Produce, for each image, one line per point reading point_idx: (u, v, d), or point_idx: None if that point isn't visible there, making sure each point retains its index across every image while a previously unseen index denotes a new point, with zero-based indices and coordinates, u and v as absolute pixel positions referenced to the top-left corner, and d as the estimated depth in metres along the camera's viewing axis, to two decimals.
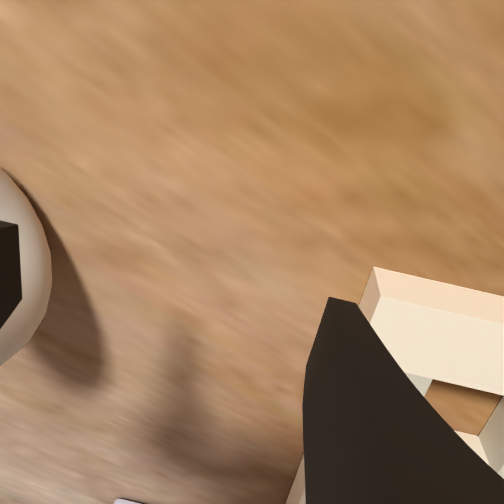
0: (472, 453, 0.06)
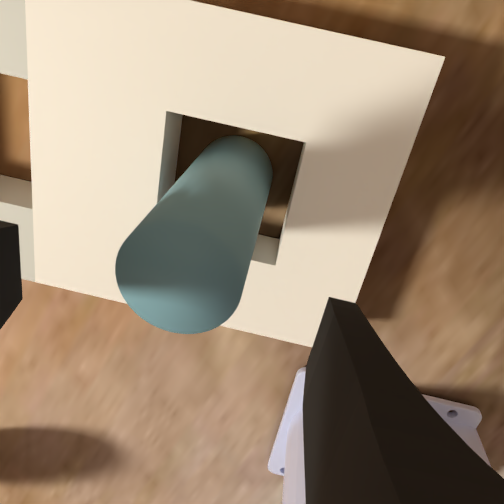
0: (472, 453, 0.06)
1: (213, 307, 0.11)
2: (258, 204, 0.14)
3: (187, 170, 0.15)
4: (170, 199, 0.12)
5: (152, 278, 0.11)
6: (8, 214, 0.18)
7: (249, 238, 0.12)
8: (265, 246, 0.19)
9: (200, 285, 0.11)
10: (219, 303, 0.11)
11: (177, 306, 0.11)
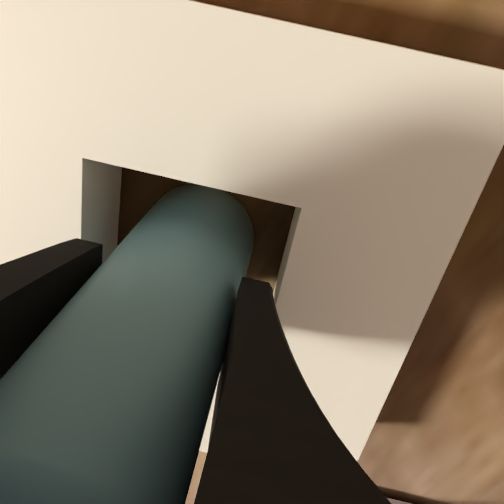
0: (320, 417, 0.06)
1: None
2: (221, 319, 0.09)
3: (109, 257, 0.09)
4: (38, 357, 0.06)
5: None
6: None
7: (193, 419, 0.07)
8: None
9: None
10: None
11: None
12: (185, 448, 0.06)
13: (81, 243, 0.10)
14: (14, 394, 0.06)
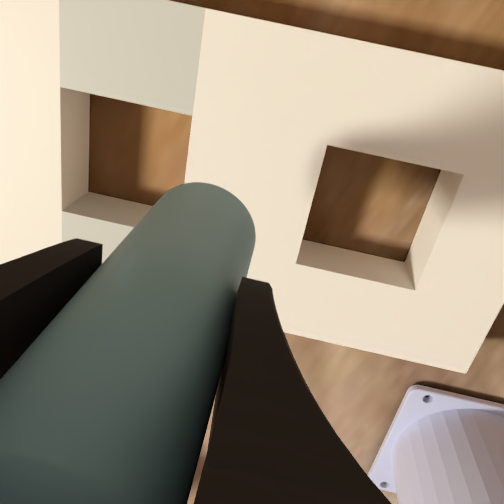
0: (320, 416, 0.06)
1: None
2: (223, 318, 0.09)
3: (111, 255, 0.09)
4: (40, 355, 0.06)
5: None
6: None
7: (195, 418, 0.07)
8: (396, 270, 0.20)
9: None
10: None
11: None
12: (187, 447, 0.06)
13: (81, 243, 0.10)
14: (16, 392, 0.06)
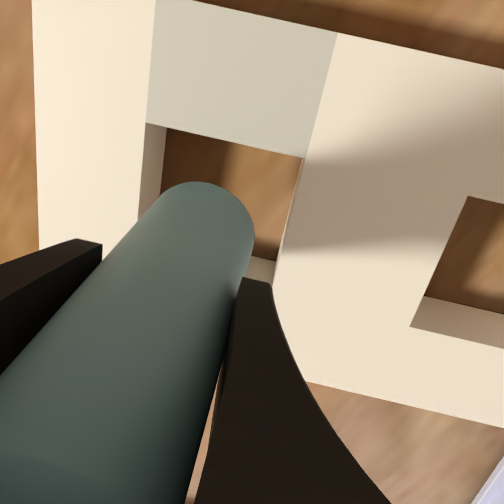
0: (320, 416, 0.06)
1: None
2: (222, 317, 0.09)
3: (109, 255, 0.09)
4: (37, 354, 0.06)
5: None
6: None
7: (193, 417, 0.07)
8: None
9: None
10: None
11: None
12: (185, 446, 0.06)
13: (81, 243, 0.10)
14: (13, 391, 0.06)
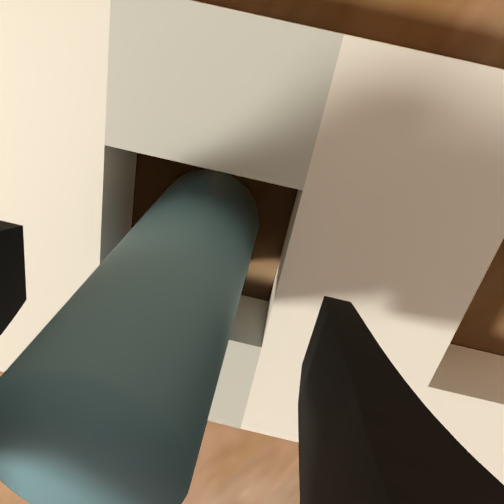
0: (464, 451, 0.06)
1: (144, 497, 0.07)
2: (232, 285, 0.10)
3: (131, 231, 0.10)
4: (79, 305, 0.07)
5: (38, 452, 0.07)
6: None
7: (211, 362, 0.08)
8: None
9: (119, 466, 0.06)
10: (153, 492, 0.07)
11: (85, 492, 0.07)
12: (205, 384, 0.07)
13: None
14: (63, 331, 0.07)
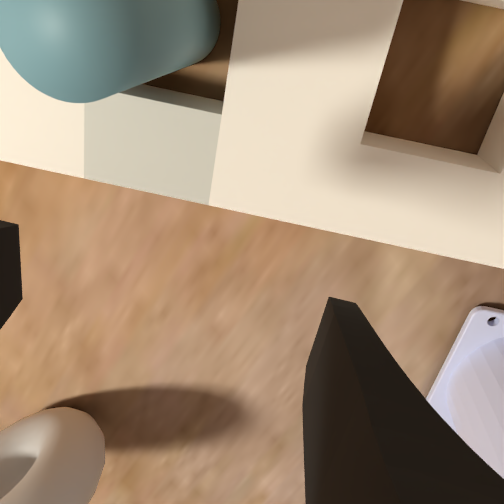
0: (472, 453, 0.06)
1: (110, 59, 0.09)
2: None
3: None
4: None
5: (33, 19, 0.09)
6: (191, 121, 0.16)
7: None
8: (471, 159, 0.17)
9: (91, 25, 0.09)
10: (116, 52, 0.09)
11: (68, 61, 0.09)
12: (155, 0, 0.10)
13: None
14: None
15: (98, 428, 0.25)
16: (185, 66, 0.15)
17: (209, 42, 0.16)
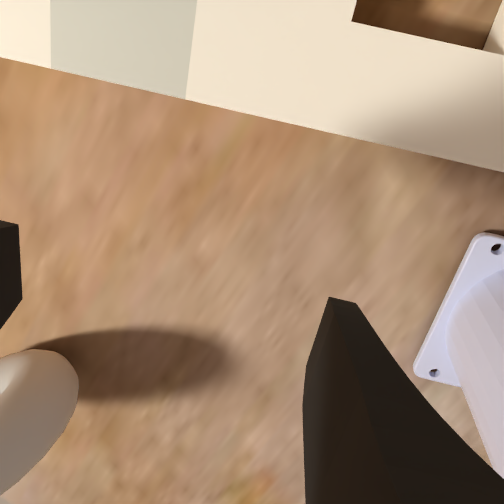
0: (472, 453, 0.06)
1: None
2: None
3: None
4: None
5: None
6: None
7: None
8: None
9: None
10: None
11: None
12: None
13: None
14: None
15: (72, 368, 0.23)
16: None
17: None
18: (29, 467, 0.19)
